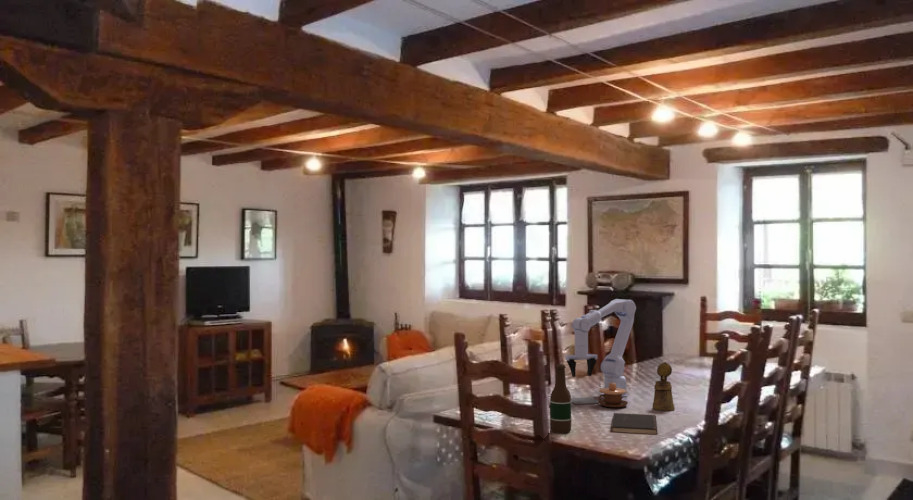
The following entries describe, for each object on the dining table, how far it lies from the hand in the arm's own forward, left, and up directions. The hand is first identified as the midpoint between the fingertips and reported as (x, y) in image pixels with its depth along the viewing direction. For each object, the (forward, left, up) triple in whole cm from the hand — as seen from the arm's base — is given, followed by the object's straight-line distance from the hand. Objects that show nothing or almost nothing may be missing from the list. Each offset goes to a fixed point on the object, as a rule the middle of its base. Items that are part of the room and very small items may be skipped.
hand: (581, 376), depth 313 cm
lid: (-7, +15, -5) cm, 17 cm away
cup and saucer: (-7, +15, -11) cm, 20 cm away
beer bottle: (+31, +48, -11) cm, 58 cm away
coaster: (+1, +3, -10) cm, 11 cm away
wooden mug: (-26, +24, -11) cm, 37 cm away
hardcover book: (+1, +48, -11) cm, 49 cm away
